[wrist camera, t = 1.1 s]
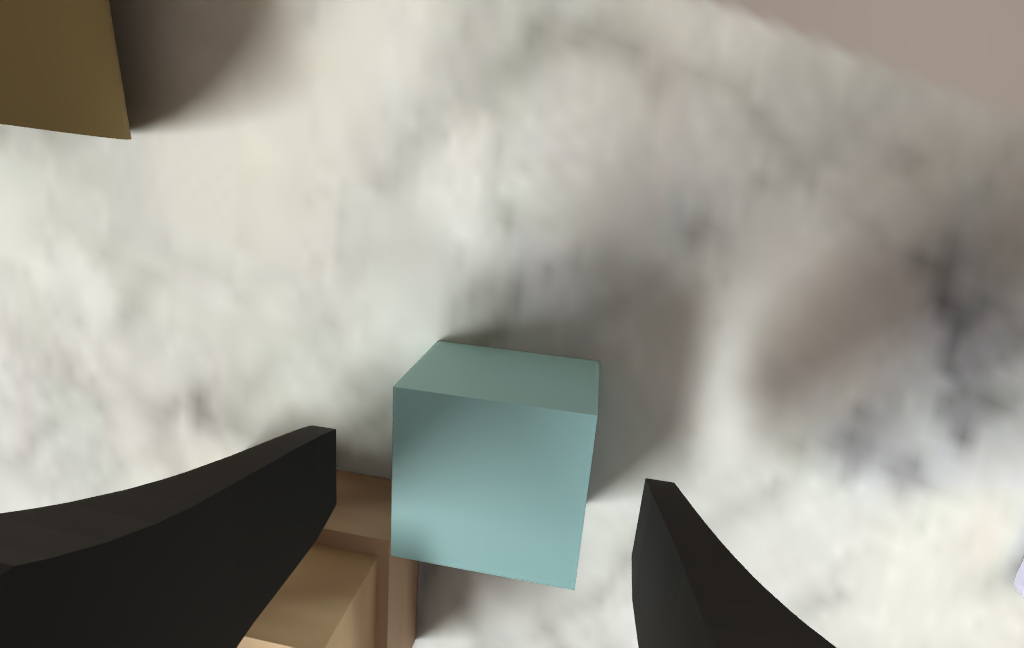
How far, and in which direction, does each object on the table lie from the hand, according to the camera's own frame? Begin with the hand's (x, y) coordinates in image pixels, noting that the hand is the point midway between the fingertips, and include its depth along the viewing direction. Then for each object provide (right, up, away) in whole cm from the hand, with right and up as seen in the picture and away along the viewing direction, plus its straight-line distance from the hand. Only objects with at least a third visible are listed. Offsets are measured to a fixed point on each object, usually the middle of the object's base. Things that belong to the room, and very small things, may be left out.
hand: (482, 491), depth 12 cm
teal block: (+1, +1, +3) cm, 4 cm away
